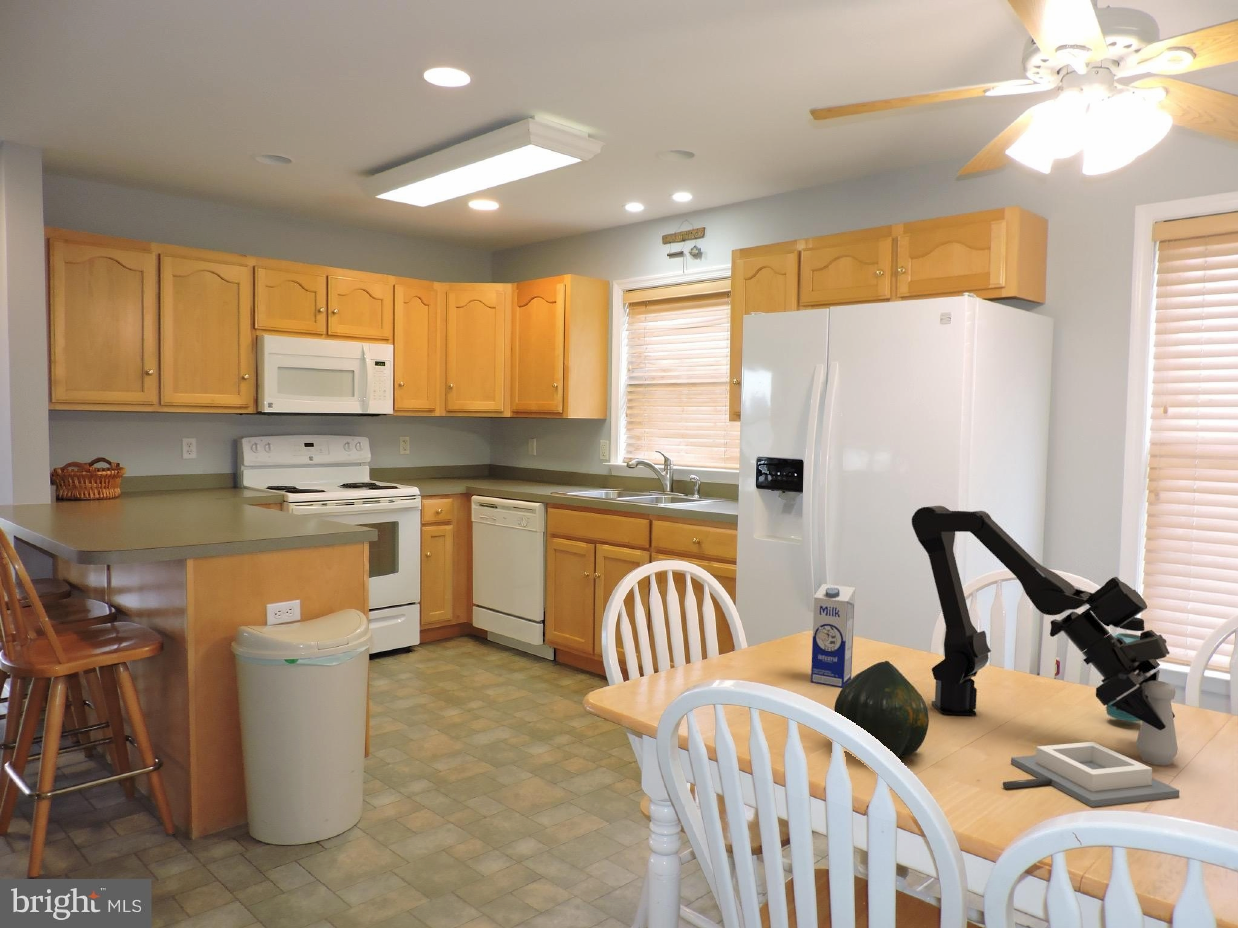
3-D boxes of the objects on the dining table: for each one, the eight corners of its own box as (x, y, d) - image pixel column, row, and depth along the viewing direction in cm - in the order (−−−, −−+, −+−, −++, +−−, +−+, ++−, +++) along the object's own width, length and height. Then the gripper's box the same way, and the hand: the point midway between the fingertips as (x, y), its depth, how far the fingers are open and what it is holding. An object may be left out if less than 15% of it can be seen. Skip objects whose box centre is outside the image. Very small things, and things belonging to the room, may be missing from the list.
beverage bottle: (1096, 717, 160) (1102, 612, 159) (1130, 717, 160) (1136, 613, 159) (1120, 730, 153) (1126, 620, 152) (1154, 730, 154) (1161, 621, 153)
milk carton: (852, 680, 179) (856, 586, 179) (843, 688, 174) (847, 591, 173) (819, 674, 183) (822, 582, 182) (809, 682, 177) (813, 587, 176)
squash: (862, 739, 129) (914, 661, 133) (804, 712, 143) (852, 641, 147) (915, 791, 134) (964, 713, 138) (853, 759, 147) (899, 690, 151)
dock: (1045, 812, 118) (1046, 787, 118) (968, 767, 134) (969, 745, 133) (1179, 796, 125) (1180, 773, 125) (1091, 755, 140) (1092, 734, 140)
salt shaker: (1183, 769, 135) (1188, 689, 135) (1143, 765, 136) (1148, 686, 136) (1167, 756, 141) (1171, 679, 141) (1129, 752, 142) (1133, 676, 142)
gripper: (1122, 624, 134) (1202, 710, 127) (1148, 608, 147) (1222, 685, 140) (1065, 662, 139) (1138, 747, 132) (1095, 644, 153) (1163, 719, 146)
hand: (1168, 723), depth 138 cm, fingers open, 7 cm apart
